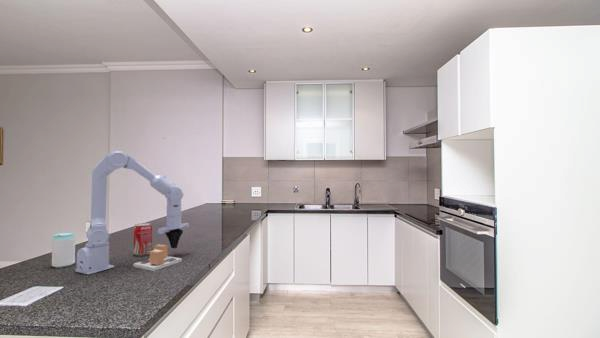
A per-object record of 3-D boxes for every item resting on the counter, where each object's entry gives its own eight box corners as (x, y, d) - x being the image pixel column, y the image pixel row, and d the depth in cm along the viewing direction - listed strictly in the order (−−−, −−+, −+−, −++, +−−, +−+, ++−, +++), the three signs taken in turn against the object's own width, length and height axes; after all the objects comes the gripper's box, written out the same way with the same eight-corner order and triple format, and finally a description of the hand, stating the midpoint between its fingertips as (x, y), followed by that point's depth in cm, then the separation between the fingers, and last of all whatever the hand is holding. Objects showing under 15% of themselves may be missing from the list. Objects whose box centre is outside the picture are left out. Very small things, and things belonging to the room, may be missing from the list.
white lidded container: (62, 268, 114) (62, 236, 114) (46, 267, 115) (46, 235, 115) (79, 263, 120) (79, 232, 121) (64, 262, 122) (64, 231, 122)
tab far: (161, 258, 122) (161, 246, 122) (154, 257, 124) (154, 245, 124) (167, 256, 124) (167, 244, 125) (160, 255, 126) (160, 243, 126)
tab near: (157, 264, 114) (157, 251, 114) (149, 263, 115) (149, 250, 115) (163, 262, 116) (164, 249, 116) (156, 261, 118) (156, 248, 118)
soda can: (155, 252, 137) (155, 222, 137) (145, 256, 130) (145, 225, 130) (140, 251, 138) (140, 222, 138) (129, 256, 131) (129, 225, 131)
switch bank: (153, 271, 111) (153, 267, 111) (133, 266, 116) (133, 263, 116) (181, 261, 123) (181, 258, 123) (162, 258, 128) (162, 254, 128)
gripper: (166, 218, 122) (166, 253, 122) (193, 213, 135) (193, 244, 135) (154, 217, 125) (154, 251, 125) (182, 212, 138) (182, 243, 138)
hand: (174, 247), depth 130 cm, fingers closed
